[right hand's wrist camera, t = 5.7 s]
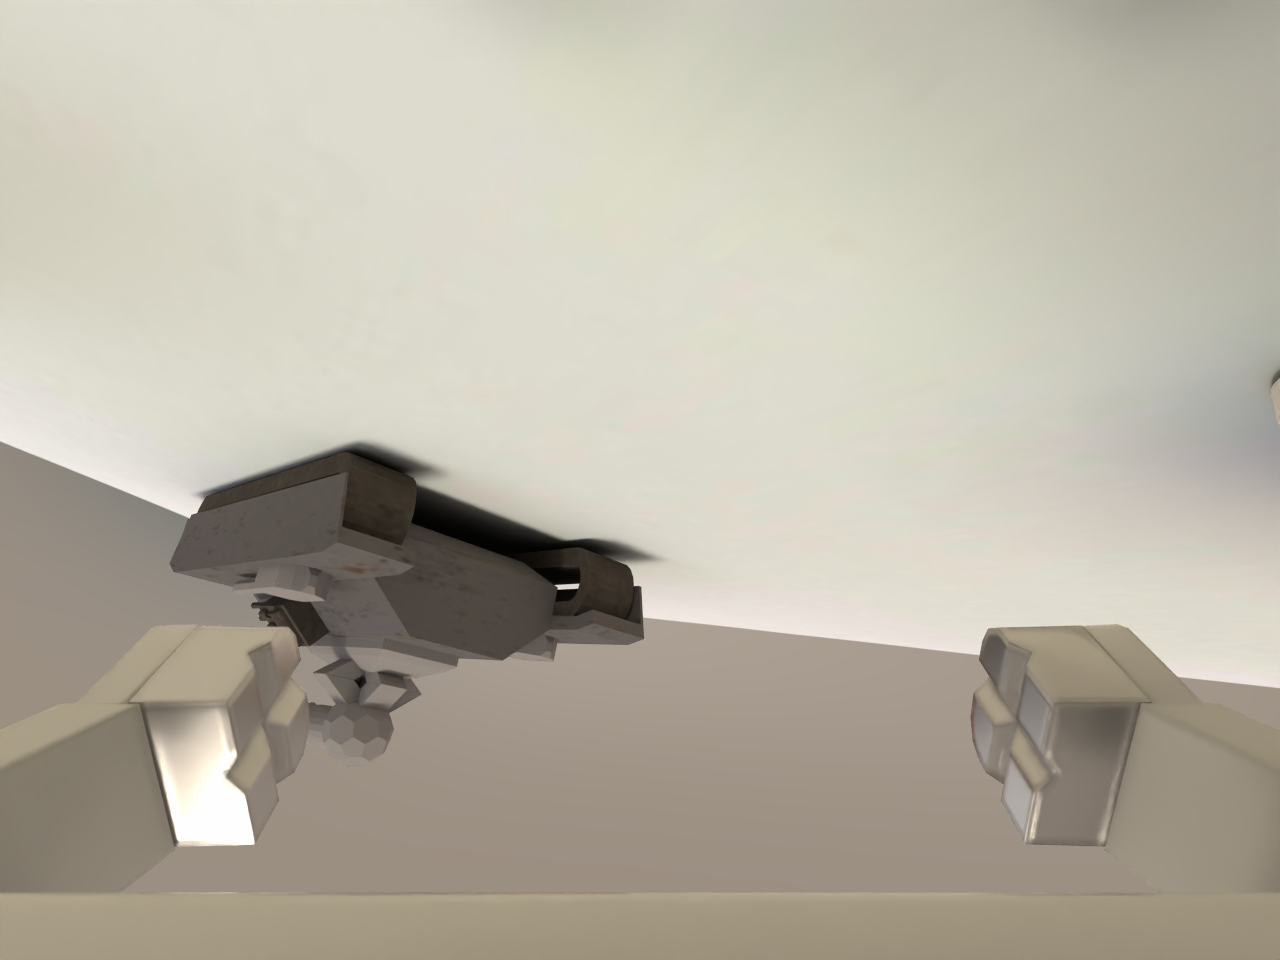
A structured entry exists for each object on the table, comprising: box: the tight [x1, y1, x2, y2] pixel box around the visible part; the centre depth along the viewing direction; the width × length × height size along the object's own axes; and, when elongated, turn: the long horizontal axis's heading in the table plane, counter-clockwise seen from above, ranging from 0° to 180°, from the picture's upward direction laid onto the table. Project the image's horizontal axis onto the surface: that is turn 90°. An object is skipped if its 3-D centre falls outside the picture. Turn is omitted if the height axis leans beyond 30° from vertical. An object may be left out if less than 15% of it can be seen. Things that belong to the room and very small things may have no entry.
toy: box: [170, 452, 644, 766], centre depth 54 cm, size 25×20×15 cm
